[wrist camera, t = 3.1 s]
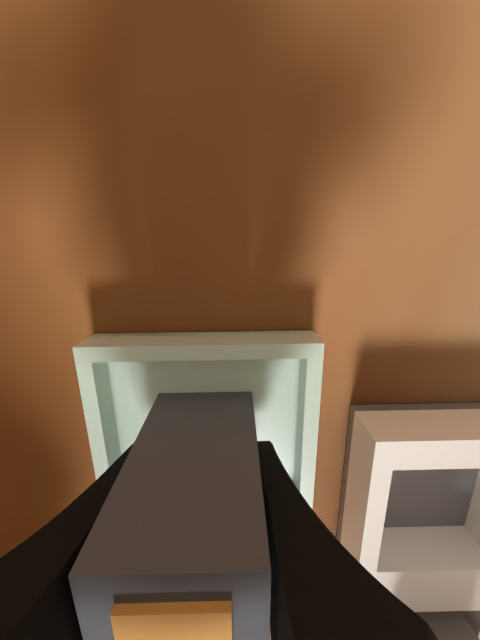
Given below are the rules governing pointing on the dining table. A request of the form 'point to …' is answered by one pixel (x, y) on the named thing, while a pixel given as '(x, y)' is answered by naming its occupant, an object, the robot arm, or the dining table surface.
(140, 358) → the tray
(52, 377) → the dining table surface
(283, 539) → the robot arm
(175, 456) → the plug
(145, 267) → the dining table surface
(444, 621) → the twin plug
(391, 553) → the strip
